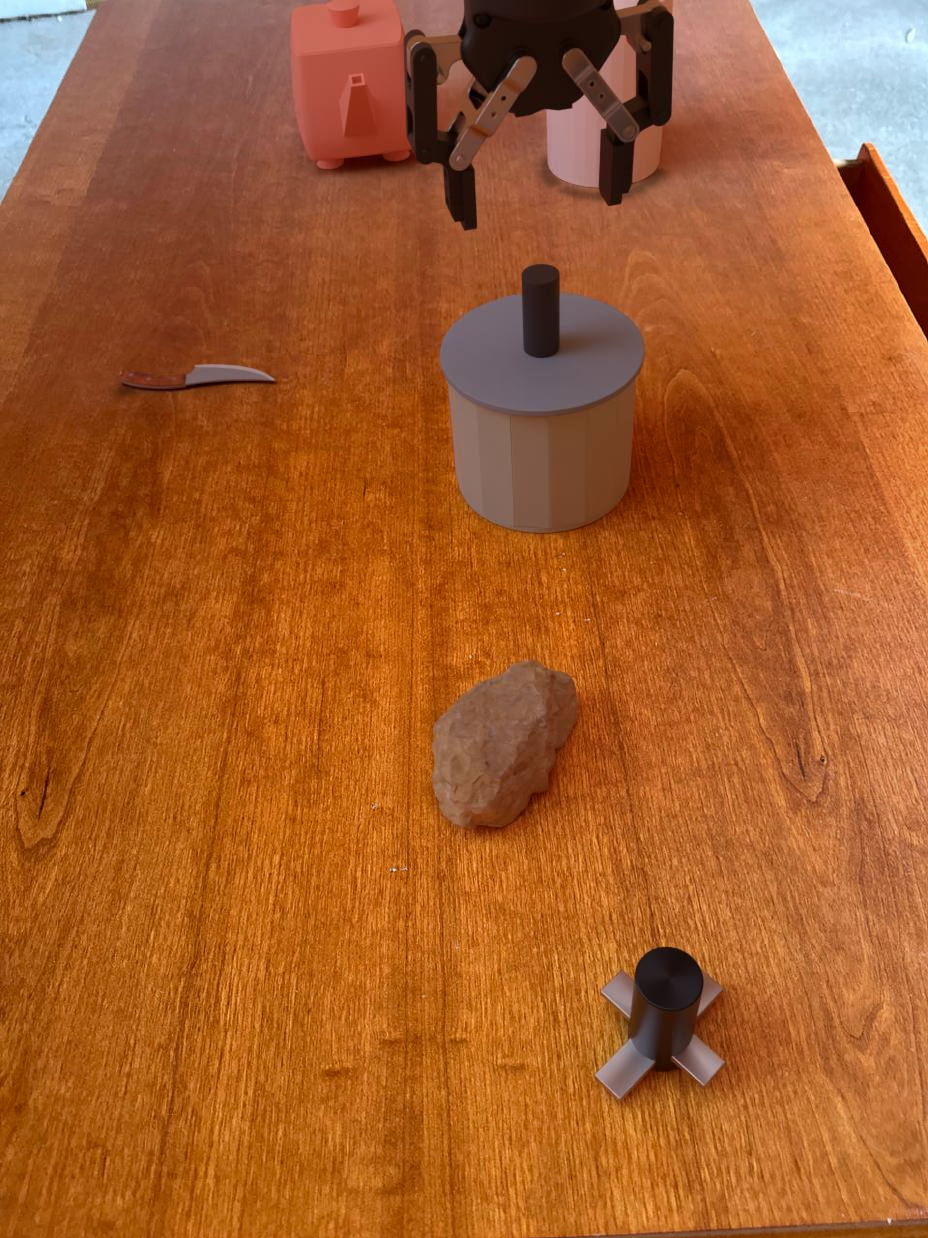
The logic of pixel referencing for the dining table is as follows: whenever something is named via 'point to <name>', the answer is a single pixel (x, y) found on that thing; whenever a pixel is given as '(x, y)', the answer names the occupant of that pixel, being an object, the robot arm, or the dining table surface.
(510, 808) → the stone tool
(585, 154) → the bottle
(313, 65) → the teapot
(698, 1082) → the blade unit
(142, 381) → the knife
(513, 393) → the lid
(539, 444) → the processor bowl
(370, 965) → the dining table surface
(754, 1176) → the dining table surface
